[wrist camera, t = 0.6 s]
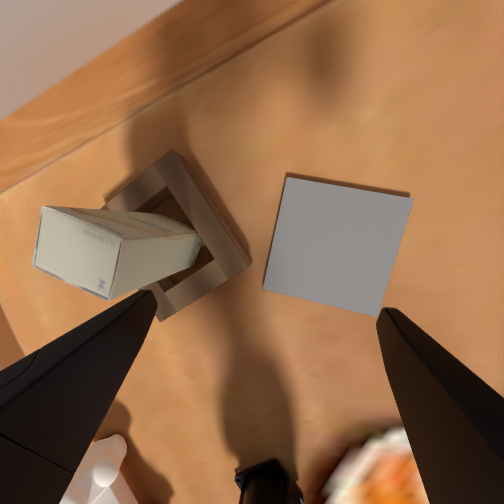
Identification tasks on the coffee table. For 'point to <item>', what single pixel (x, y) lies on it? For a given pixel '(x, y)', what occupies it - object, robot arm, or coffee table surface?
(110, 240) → the skincare box
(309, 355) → the coffee table surface
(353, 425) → the coffee table surface
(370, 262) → the slate mat
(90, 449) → the white bone
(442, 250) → the coffee table surface
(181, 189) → the walnut holder
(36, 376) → the robot arm
